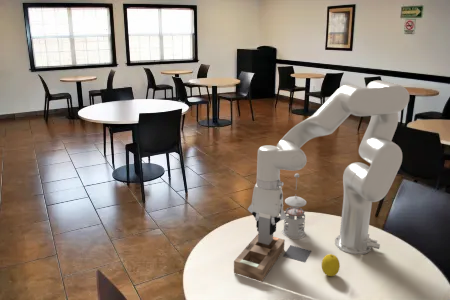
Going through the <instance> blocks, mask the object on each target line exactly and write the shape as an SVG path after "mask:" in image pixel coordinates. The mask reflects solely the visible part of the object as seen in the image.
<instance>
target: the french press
mask: <svg viewBox="0 0 450 300" xmlns="http://www.w3.org/2000/svg"><path fill="white" fill-rule="evenodd" d="M293 176H294V178H295V181H296V182H295V189H297V185H298V178H300V174H299V173H295V174H294V175H293ZM284 203H285V204H286V205H287V206H289V207H287V208H285V211H284V212H285V214H286V216H287V217H286V218H285V219H284V220H283V229H282V231H281V233H282V235H283V236H284V237H286V238H288V239H293V240H294V239H295V240H298V239H299V240H300V239H302V238H304V237H305V236H306V231H305V224H306V222H305V220H306V214H305V210H304V209H302V208H301V207H304V206H306V205H307V201H306V200H305V199H304V198H302V197H300V196H297V195H294V196H289V197H287V198H285V199H284ZM295 218H296V219H295Z"/></svg>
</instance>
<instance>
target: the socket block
mask: <svg viewBox="0 0 450 300" xmlns="http://www.w3.org/2000/svg"><path fill="white" fill-rule="evenodd" d="M285 242H286V241H285V239H283V238H279V237H276V236H273V240H272V242H271V243H270V244H269V245H267V244H263V243H259V242H258V233H257V234H256V235H255V237H254V238H253V239H252V240H251V241H250V242H249V243H248V245H247V246H246V247H245V248H244V249H243V250H242V251H241V252H240V254H238V256H237V257H236V258H235V260H234V261H233V274H237V275H240V276H242V277H246V278H248V279H252V280H255V281H257V282H261V283H263V281H264V279H265V278H266V276H267V275H268V273H269V272H270V270H271V269H272V268H273V266H274V265H275V264H276V263H277V261H278V259H280V256H281V255H282V254H283V252H284V251H285Z"/></svg>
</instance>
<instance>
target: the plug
mask: <svg viewBox="0 0 450 300" xmlns="http://www.w3.org/2000/svg"><path fill="white" fill-rule="evenodd" d="M270 225H271V216H270V215H267V214H263V213H260V212H259V228H258V231H257V234H258V242H259V243H263V244H267V245H269V244H270V243H271V242H272V240H273V237H274V233H273V234H272V235H270Z"/></svg>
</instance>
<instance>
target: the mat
mask: <svg viewBox="0 0 450 300" xmlns="http://www.w3.org/2000/svg"><path fill="white" fill-rule="evenodd" d="M312 252H313V251H312V250H310V249H308V248H303V247H298V246H296V245H292V244H291V245H289V247H288V248H287V249H286V251H285V253H284V254H283V255H282V257H285V258H287V259H291V260H294V261H298V262H302V263H306V262H307V260H308V259H309V256H310V255H311V254H312Z"/></svg>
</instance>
